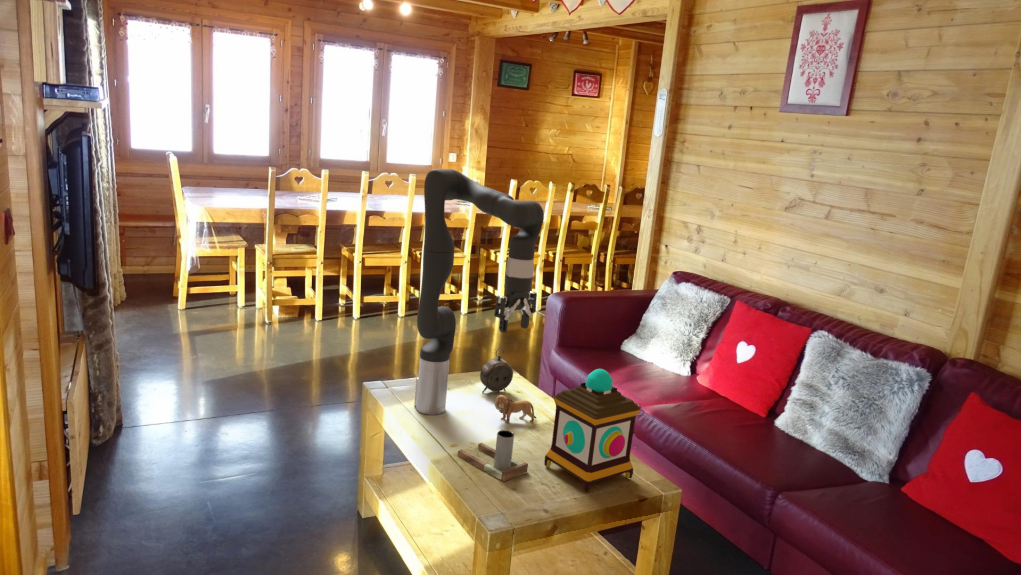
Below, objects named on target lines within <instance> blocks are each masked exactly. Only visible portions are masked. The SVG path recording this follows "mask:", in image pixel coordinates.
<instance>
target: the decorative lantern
mask: <svg viewBox="0 0 1021 575" xmlns="http://www.w3.org/2000/svg"><path fill="white" fill-rule="evenodd" d="M613 383H614V382H613V377H612V376H611V375H610V373H609V372H608V371H607V370H605V369H603V368H597V369H594V370H593V371H592V372H590V373H588V376H586V381H585V382H581V383H580V385H578V386H576V387H573V388H569V389H564V390H562V391H561V392H557V393H556V395H553V397H552V398H553V401H554V403H555V415H554V421H553V432H552V438H551V447H550V448H549V449H548V451H547V452H546V454H545V456H544V462H543V463H544V467H546V468H549V467H551V464H552V463H553V464H555V465H556V466H558V467H559V468H561V469H563V470H564V471H565V472H567V473H569V474H570V475H572V476H573V477H575V478H577V479H578V480H580V481H581V482H582V483H583V492H584V493H585V494H588V493H589V491H590V489H591V486H592V485H593V484H594V483H596V482H597V483H598V482H600V481H603V480H606V479H610V478H613V477H616V476H620V475H623V474H625V478H631V479H632V478H633V475H634V468H633V463H632V461H631V457H630V456H631V450H632V443H633V437H634V431H635V430H634V429H635V424H636V423H635V422H636V418H637V416H638V415H639V413H640V411H641V410H642V409H641V407H640V406H639V404H637V403H636V402H635V401H634V400H633V399H631V398H629V397H627V396H625V395H624V394H623V395H622V393H621V392H620V391H619V390H618V388H617V387H615V386H613V385H614V384H613Z"/></svg>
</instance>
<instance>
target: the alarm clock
mask: <svg viewBox="0 0 1021 575" xmlns="http://www.w3.org/2000/svg"><path fill="white" fill-rule="evenodd" d="M499 350H502V351H503V352H502V355H497V352H498V351H499ZM504 354H505V350H504V348H503V347H498V348H497V349H496V350H495V357H494V358H490V359H488V361H487V362H485V364H483V366H482V368H481V370H480V373H479V376H480V378H479V379H480V381H481V383H482V385H483V386H484V389H483V390H482V394H484V393H485V391H486V390H489V391H492V392H496V395H497V396H498V395H500V392H501V391H502V390H503V391H506V388H507V387H508V386H510V384H511V383H512V381H513V379H514V378H513V377H514V370H513V367H512V365H511V364H510V363H508V362H507V360H505V359H503V358H502V357H503V356H504Z"/></svg>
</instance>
